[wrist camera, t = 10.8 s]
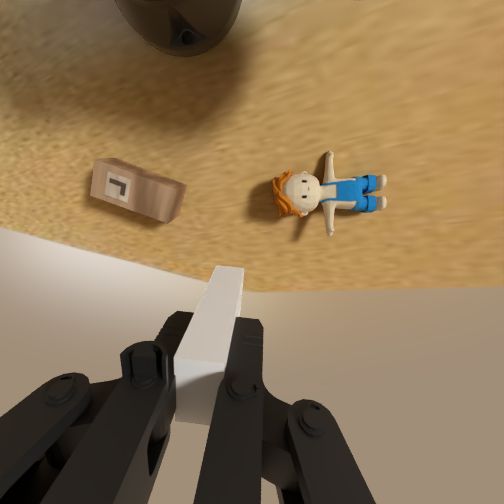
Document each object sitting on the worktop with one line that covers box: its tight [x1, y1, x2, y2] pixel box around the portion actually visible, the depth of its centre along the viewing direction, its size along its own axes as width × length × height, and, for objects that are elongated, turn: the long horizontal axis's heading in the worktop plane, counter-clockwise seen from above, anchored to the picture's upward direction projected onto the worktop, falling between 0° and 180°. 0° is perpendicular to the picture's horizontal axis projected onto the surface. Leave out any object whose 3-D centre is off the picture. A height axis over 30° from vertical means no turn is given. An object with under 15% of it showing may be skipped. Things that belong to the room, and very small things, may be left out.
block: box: [90, 158, 187, 224], centre depth 36 cm, size 5×5×11 cm
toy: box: [272, 151, 387, 237], centre depth 35 cm, size 12×6×15 cm
